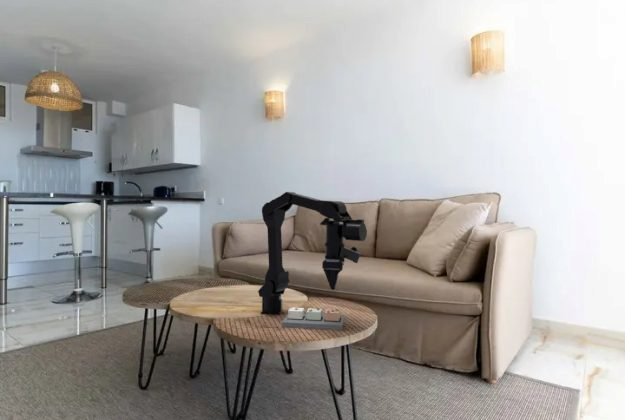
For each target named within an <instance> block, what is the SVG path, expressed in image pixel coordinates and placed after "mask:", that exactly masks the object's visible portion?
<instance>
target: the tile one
mask: <svg viewBox="0 0 625 420" xmlns="http://www.w3.org/2000/svg"><path fill="white" fill-rule="evenodd" d="M304 313H305V308H304V307H293V306H292V307H289V309H288V314H287V315H288V319H302V318H303V317H304Z"/></svg>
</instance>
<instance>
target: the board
mask: <svg viewBox="0 0 625 420" xmlns="http://www.w3.org/2000/svg"><path fill="white" fill-rule="evenodd" d="M344 322H345V314H340V319H339V321H327V320H325V313H322V318H321V320H307V312H304V317H303V318H302V319H288V314H287V315H286V316H285V318H284V319H283V320H282V321H281V327H282V328H292V329H293V328H295V329H314V330H333V331H335V330H336V331H343V328H344Z"/></svg>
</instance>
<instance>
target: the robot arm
mask: <svg viewBox="0 0 625 420" xmlns="http://www.w3.org/2000/svg"><path fill="white" fill-rule="evenodd" d="M293 206H298V207H302V208H305V209H308V210H312V211H315V212H316V213H319V214H320V215H321V216H323V217H325V218H324V219H323V220H322V221H321V222H320V223H319V224H320V226H325V243H324V247H325V255H324V260H323V261H322V267H321V268H322V269H323V272H324V275H325V278H326V279H327V282H328V284H329V287H330V290H332V291H335V289H336V286H337V282H338V277H339V274H340V273H341V272H342V271H343V270H344V269H343V268H344V265H345V261H346V260H349V261H351V262H353V263H355V264H358V263H359V259H360V257H361V255H362V253H361V252H359V251H358V248H357V247H355V246H351V247H350V248H349V247H347V246H345V243H344V239H345V241H354V242H355V241H356V242H364V241H365V240H366V238H367V235H368V234H367V233H368V229H367V225H366V224H365V219H363V218H362V219H359V218H358V219H354V218H352V216H351V215H350V213H349V212H348V210H347V206H346V204H345V203H344V202H343V201H339V200H321V199H318V198H315V197H310V196H306V195H303V194H299V193H296V192H293V191H285V192H283V193H282V194H281V195H279V196H278V197H275V198H273V199H272V200H270V201H269V202H265V203H264V205H263V206H262V208H261V214H262V221H263V222H264V223H265V226H266V227H267V251H268V252H267V254H268V255H267V256H268V269H267V271H266V273H265V276H264V284H263V285H262V286H261V287H260V288H259V289H258V291H257V294H258V296H259V297H260V298H262V300H261V311H260V315H276V316H277V315H278V316H279V315H280V313H281V312H282V311H283V298H282V295H284V294H285V291H286V289H287V288H288V287H289V283H290V278H289V276H290V272H289V271H286V270H285V268H284V267H283V247H282V245H283V243H282V241H283V240H282V238H283V237H282V225H283V224H284V222H285V219H286V212H288V211H289V210H291V208H292V207H293ZM345 259H346V260H345Z"/></svg>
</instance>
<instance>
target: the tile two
mask: <svg viewBox="0 0 625 420" xmlns="http://www.w3.org/2000/svg"><path fill="white" fill-rule="evenodd" d="M306 313H307V320H321V318H322V314H323V308H309V307H308V309H307V311H306Z"/></svg>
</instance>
